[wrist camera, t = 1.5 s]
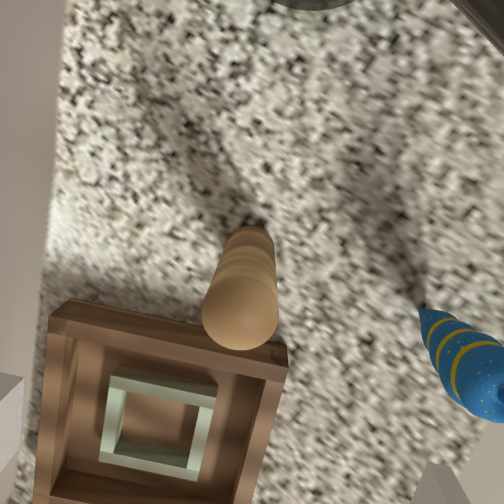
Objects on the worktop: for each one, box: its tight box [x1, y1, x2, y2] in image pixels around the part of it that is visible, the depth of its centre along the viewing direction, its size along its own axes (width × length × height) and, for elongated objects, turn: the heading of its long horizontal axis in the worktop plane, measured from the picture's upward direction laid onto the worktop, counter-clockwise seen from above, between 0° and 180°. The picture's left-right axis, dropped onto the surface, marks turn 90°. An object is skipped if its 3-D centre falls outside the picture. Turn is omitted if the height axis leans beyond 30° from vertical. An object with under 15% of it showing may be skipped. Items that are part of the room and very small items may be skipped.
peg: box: [201, 226, 279, 350], centre depth 30 cm, size 4×4×14 cm
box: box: [32, 298, 289, 504], centre depth 39 cm, size 21×21×4 cm
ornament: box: [419, 308, 504, 423], centre depth 30 cm, size 5×5×15 cm
